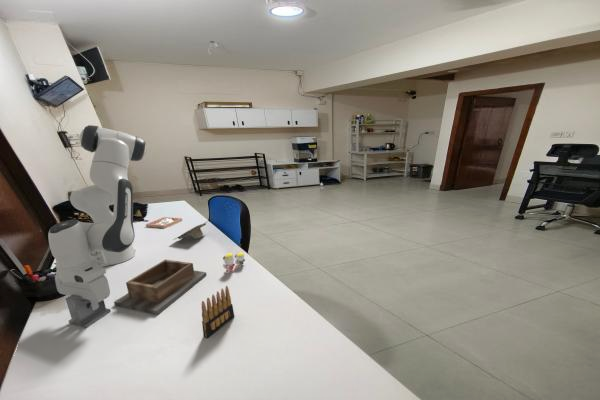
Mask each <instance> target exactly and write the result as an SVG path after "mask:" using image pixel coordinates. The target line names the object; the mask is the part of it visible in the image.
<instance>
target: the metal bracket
mask: <svg viewBox="0 0 600 400" xmlns="http://www.w3.org/2000/svg"><path fill="white" fill-rule="evenodd" d="M65 301H66V305H67V309H68V312H69V315H70V319H69V320H68V324H70V325H73V326H77V327H80V328H85V329H87V328H89V327H90V326H92V325H93V324H95V323H96V322H97V321H99V320H101V319H102V318H104V317H105V316H107V315H108V314H110V313H111V308H106V307H107V306H106V303H105V299H104V300H102V301H101V302H98V305H99V308H97V309H96V310H91V309H90V306H89V305H91V302H90V300H87V299H83V298H82V296H78V295H74V294H73V295H71V296H69V295H68V296H67V297H66V298H65Z"/></svg>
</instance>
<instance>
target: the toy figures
mask: <svg viewBox="0 0 600 400" xmlns="http://www.w3.org/2000/svg"><path fill="white" fill-rule="evenodd" d="M234 258H235V259H234ZM222 259H223V262H224V263H223V264H222V266H223V268H224V269H225V270H223V273H224V274H229V273H230V272H231V271H233V270H234V268H240V267H241V266H244V263H245V261H246V259H245V255H244V252H238V253H236V254H235V255H234V254H233V253H226V255H224V256H222ZM234 260H235V261H234Z"/></svg>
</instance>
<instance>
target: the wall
mask: <svg viewBox="0 0 600 400" xmlns="http://www.w3.org/2000/svg"><path fill="white" fill-rule="evenodd" d="M206 223H208V221H206V222H204V223H202V224H198V225H196V226H194V227H193V228H191V229H189V230H187V231H185V232H184V233H182V234H181V235H179V236H177V237H175V238H174V240H176V239H178V240H181V239H184V238H186V237H187V236H189V235H190V236H191V237H192V238H193V239H194V240H197V239H200V238H201V237H203V236H204V233H203V231H202V229H201V228H202V227H204V226H206V225H207V224H206Z"/></svg>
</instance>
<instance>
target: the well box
mask: <svg viewBox="0 0 600 400" xmlns="http://www.w3.org/2000/svg"><path fill="white" fill-rule="evenodd" d="M206 276H207V272H206V271H199V270H195V269H194V263H193V262H187V261H186V262H185V261H178V260H171V259H164V260H162V261H160V262H159V263H157V264H156V265H153V266H152V267H150V268H148V269H147V270H145V271H143V272H142V273H140V274H138V275H137V276H135V277H133V278H131V279H130V280H128V281H126V282H125V284H126V289H127V292H128V293H126V294H125V295H122V296H121V297H119V298H118V299H116V300H115V301H113V304H114V306H115V307H119V308H125V309H128V310H133V311H138V312H143V313H147V314H151V315H157V316H158V315H160V314H161V313H162V312H163V311H165V310H166V309H167V308H168V307H170V306H171V305H172V304H173V303H174V302H176V300H178V299H179V298H181V297H182V296H183V295H184V294H186V292H188V291H189V290H190V289H191V288H193V287H195V285H197V284H198V283H200V281H202V280H203V279H204V278H205V277H206Z"/></svg>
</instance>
